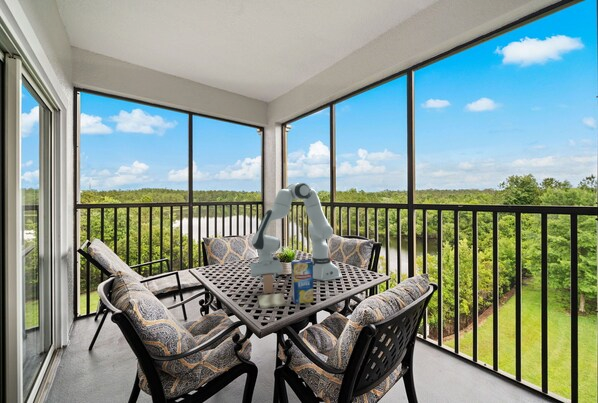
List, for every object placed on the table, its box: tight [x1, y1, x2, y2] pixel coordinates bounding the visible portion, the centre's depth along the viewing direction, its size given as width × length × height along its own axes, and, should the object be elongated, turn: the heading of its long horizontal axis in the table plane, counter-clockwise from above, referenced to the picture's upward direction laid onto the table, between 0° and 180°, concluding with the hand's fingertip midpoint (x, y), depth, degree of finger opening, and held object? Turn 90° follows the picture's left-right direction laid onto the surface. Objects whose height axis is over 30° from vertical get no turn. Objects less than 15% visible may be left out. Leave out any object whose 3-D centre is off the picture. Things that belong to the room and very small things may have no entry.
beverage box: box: [290, 259, 314, 305], centre depth 144 cm, size 7×11×22 cm, turn 104°
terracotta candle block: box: [262, 274, 274, 295], centre depth 157 cm, size 5×5×10 cm
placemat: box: [257, 292, 287, 310], centre depth 143 cm, size 14×14×1 cm
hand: (268, 281), depth 157 cm, fingers open, 5 cm apart
